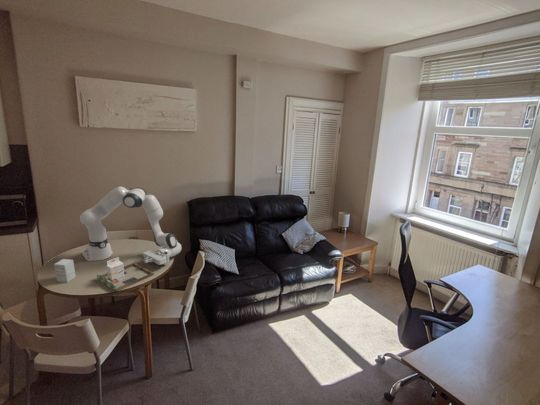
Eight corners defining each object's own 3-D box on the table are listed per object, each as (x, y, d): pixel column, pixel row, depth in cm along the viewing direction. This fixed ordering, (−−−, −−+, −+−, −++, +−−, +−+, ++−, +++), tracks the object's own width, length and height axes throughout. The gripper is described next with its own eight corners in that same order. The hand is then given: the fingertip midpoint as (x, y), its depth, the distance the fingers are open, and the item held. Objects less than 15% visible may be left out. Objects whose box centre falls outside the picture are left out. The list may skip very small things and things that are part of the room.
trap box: (97, 279, 188) (96, 273, 187) (134, 264, 209) (134, 259, 208) (116, 291, 176) (115, 285, 175) (153, 274, 196) (153, 269, 195)
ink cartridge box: (112, 284, 183) (109, 263, 179) (108, 281, 186) (105, 261, 182) (125, 278, 190) (123, 258, 186) (121, 276, 192) (119, 256, 188)
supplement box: (65, 275, 190) (62, 258, 186) (76, 277, 189) (73, 259, 186) (56, 281, 183) (53, 263, 179) (67, 283, 182) (64, 265, 179)
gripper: (152, 246, 217) (135, 252, 206) (170, 254, 206) (152, 261, 195) (153, 254, 219) (136, 260, 208) (170, 262, 208) (153, 269, 197)
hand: (144, 261), depth 202 cm, fingers closed
